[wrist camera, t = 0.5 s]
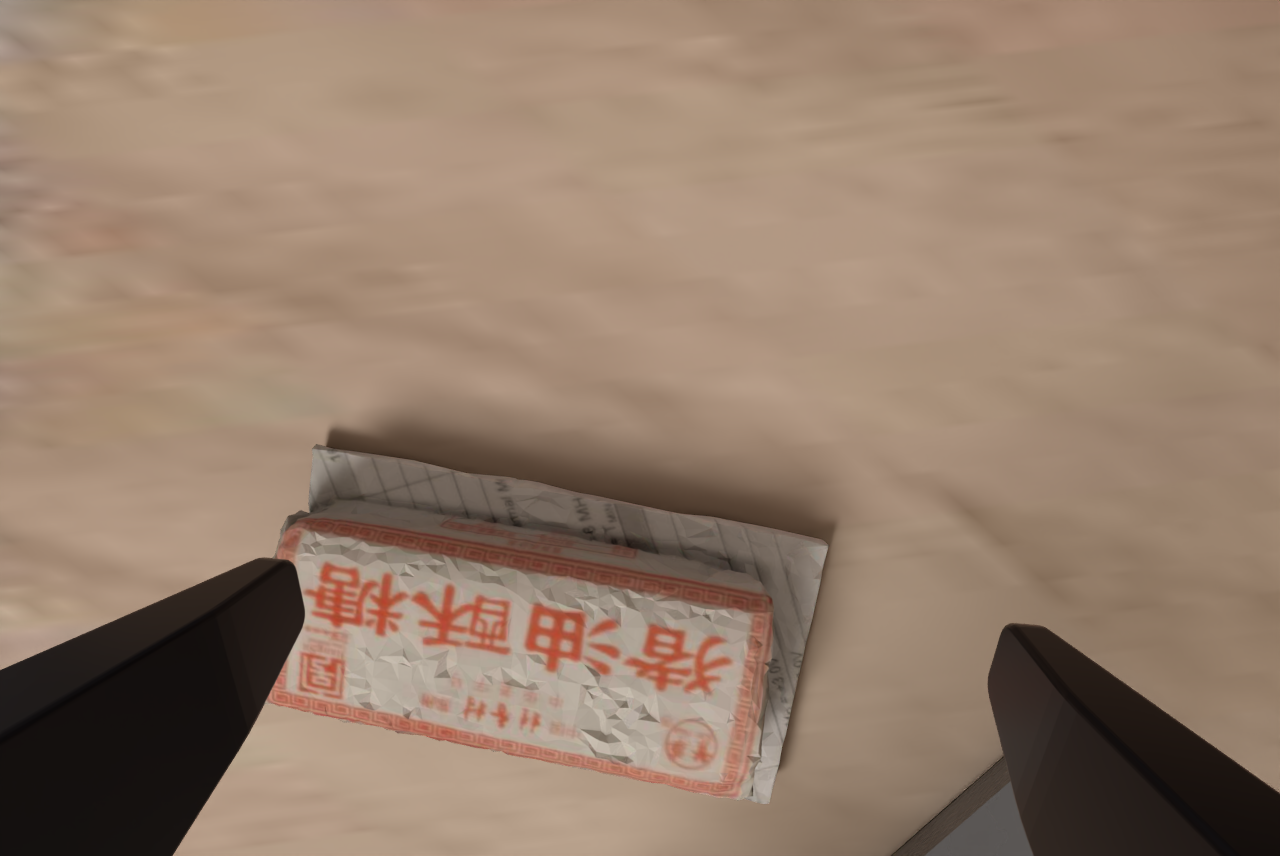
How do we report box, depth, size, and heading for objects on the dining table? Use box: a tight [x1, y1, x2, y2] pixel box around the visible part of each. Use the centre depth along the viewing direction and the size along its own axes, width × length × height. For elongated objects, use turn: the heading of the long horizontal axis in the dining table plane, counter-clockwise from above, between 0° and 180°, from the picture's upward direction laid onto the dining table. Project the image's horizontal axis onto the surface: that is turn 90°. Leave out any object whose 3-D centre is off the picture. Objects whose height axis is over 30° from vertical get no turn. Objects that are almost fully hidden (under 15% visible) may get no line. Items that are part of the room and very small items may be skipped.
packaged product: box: [265, 444, 829, 804], centre depth 24 cm, size 18×5×10 cm
